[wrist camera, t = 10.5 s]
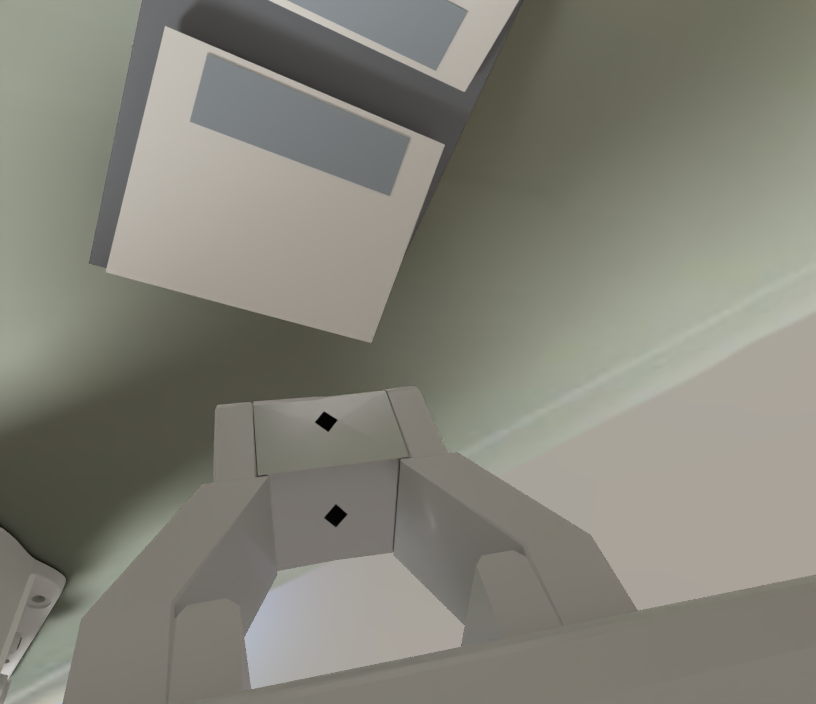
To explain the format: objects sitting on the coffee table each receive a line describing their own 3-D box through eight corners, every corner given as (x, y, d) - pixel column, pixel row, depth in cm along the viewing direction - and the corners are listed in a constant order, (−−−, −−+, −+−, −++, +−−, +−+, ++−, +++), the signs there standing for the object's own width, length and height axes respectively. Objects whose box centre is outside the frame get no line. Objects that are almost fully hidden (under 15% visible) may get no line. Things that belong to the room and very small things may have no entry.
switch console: (354, 284, 36) (373, 353, 30) (114, 211, 31) (82, 277, 25) (553, -174, 26) (640, -204, 20) (244, -393, 21) (239, -519, 15)
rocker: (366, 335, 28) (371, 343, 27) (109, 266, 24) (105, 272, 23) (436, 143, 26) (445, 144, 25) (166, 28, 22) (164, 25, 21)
